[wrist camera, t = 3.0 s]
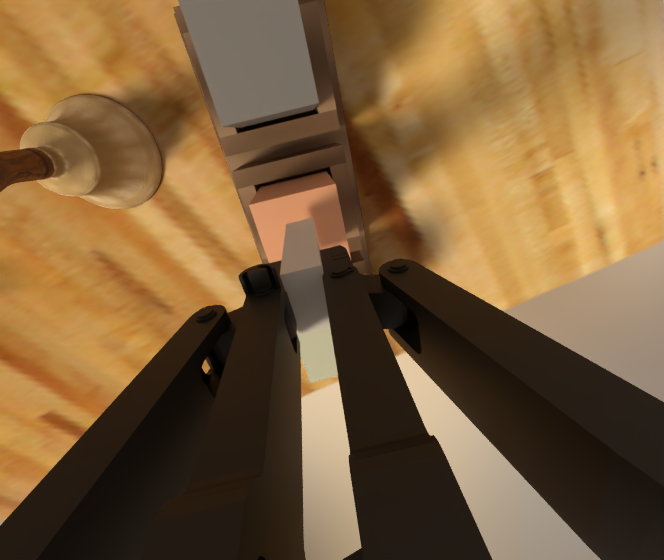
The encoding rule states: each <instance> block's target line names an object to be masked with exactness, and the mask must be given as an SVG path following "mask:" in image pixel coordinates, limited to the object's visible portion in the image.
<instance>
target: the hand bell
mask: <svg viewBox="0 0 664 560" xmlns="http://www.w3.org/2000/svg"><path fill="white" fill-rule="evenodd" d="M161 175H162V162H161V156H160V152H159V149H158V146H157V144H156V142H155V140H154V138H153V136H152V134H151V133H150V131H149V130H148V128H147V127H146V126H145V125H144V123H143V122H142V121H141V120H140V119H139V118H138V117H137V116H136V115H134V114H133V113H132V112H131V111H130V110H128V109H127V108H125V107H124V106H122V105H120V104H119V103H117V102H115V101H112V100H110V99H107V98H104V97H101V96H96V95H76V96H72V97H68V98H66V99H64V100H62V101H60V102H59V103H58V104H56V105H55V106H54V107H53V108H52V109H51V111H50V112H49V114H48V115H47V117H46V119H45V121H44V122H42V123H38V124H35V125H33V126H31V127H30V128H28V129H27V130H26V131H25V132H24V134H23V136H22V138H21V141H20V149H19V150H12V151H4V152H0V192H1V191H2V190H3V189H5V188H6V187H7V186H9V185H11V184H14V183H19V182H26V181H34V180H36V181H37V182H38V183H40V184H41V185H42V186H44V187H45V188H47V189H49V190H50V191H53V192H55V193H58V194H61V195H65V196H80V197H81V198H83V199H85V200H87V201H89V202H91V203H93V204H95V205H98V206H101V207H105V208H110V209H128V208H132V207H136V206H139V205H141V204H143V203H144V202H146V201H147V200H148V199H149V198H150V197H151V196H152V195H153V194H154V193H155V191H156V190H157V188H158V186H159V183H160V180H161Z"/></svg>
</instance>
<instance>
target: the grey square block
mask: <svg viewBox="0 0 664 560" xmlns="http://www.w3.org/2000/svg"><path fill="white" fill-rule="evenodd" d="M178 1H179V4H180V7H181V10H182V13H183V16H184V19H185V22H186V25H187V27H188V30H189V33H190V36H191V39H192V42H193V45H194V48H195V51H196V54H197V56H198V59H199V62H200V65H201V68H202V71H203V74H204V77H205V80H206V82H207V85H208V88H209V91H210V94H211V97H212V100H213V103H214V106H215V109H216V111H217V114H218V117H219V120H220V123H221V126H222V127H237V128H242V127H246V126H250V125H254V124H258V123H262V122H266V121H270V120H275V119H279V118H283V117H287V116H291V115H295V114H299V113H303V112H307V111H311V110H313V109H314V108H315V107H316V106H317V105H318V103H319V101H318V96H317V91H316V86H315V81H314V76H313V71H312V67H311V62H310V57H309V52H308V47H307V42H306V37H305V32H304V28H303V23H302V18H301V13H300V8H299V3H298V0H178Z"/></svg>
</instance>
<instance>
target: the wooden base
mask: <svg viewBox="0 0 664 560" xmlns="http://www.w3.org/2000/svg"><path fill="white" fill-rule="evenodd" d="M298 3H299V8H300V13H301V18H302V23H303V28H304V32H305V37H306V42H307V47H308V52H309V57H310V62H311V67H312V71H313V76H314V81H315V86H316V91H317V96H318V101H319V103H318V105H317V106H316V107H315V108H314V109H313V110H311V111H307V112H303V113H299V114H295V115H291V116H287V117H283V118H279V119H275V120H270V121H266V122H262V123H258V124H254V125H250V126H246V127H242V128H237V127H222V126H221V123H220V120H219V117H218V114H217V111H216V109H215V106H214V103H213V100H212V97H211V94H210V91H209V88H208V85H207V82H206V80H205V77H204V74H203V71H202V68H201V65H200V62H199V59H198V56H197V54H196V51H195V48H194V45H193V42H192V39H191V36H190V33H189V30H188V27H187V25H186V22H185V19H184V16H183V13H182V10H181V7H180V6H177V7H173V8H174V11H175V13H174V16H175V19H176V22H177V24H178V27H179V30H180V33H181V36H182V38H183V41H184V44H185V47H186V50H187V52H188V55H189V58H190V61H191V64H192V66H193V69H194V72H195V75H196V78H197V81H198V83H199V86H200V89H201V92H202V95H203V97H204V100H205V103H206V106H207V109H208V111H209V114H210V117H211V120H212V123H213V125H214V128H215V131H216V134H217V137H218V140H219V142H220V145H221V148H222V151H223V154H224V156H225V159H226V162H227V165H228V168H229V170H230V173H231V176H232V179H233V182H234V184H235V187H236V190H237V193H238V196H239V199H240V201H241V204H242V207H243V210H244V213H245V215H246V218H247V221H248V224H249V227H250V229H251V232H252V235H253V238H254V241H255V243H256V246H257V249H258V252H259V255H260V258H261V260H262V263H263V264H268V263H269V262H268V259H267V256H266V253H265V250H264V248H263V245H262V242H261V239H260V236H259V233H258V230H257V227H256V224H255V221H254V219H253V216H252V213H251V210H250V207H249V204H250V202H251V201H252V199H253V198H254V196H255V195H256V193H257V191H258V190H259V188H260V187H263V186H267V185H271V184H275V183H279V182H283V181H287V180H291V179H295V178H299V177H303V176H307V175H312V174H316V173H320V172H324V171H327V173H328V174H329V175H330V177H331V178H332V180H333V181H334V182H335V184H336V188H337V193H338V198H339V203H340V208H341V212H342V217H343V222H344V227H345V232H346V237H347V242H348V247H349V251H350V256H351V261H352V264H353V266H355V267H356V268H357V269H358V271H359V273H360V274H363V275H372V272H371V267H370V261H369V255H368V249H367V244H366V238H365V232H364V227H363V221H362V215H361V209H360V204H359V198H358V192H357V187H356V181H355V175H354V170H353V164H352V158H351V152H350V147H349V141H348V135H347V130H346V124H345V118H344V112H343V107H342V101H341V95H340V90H339V84H338V78H337V73H336V67H335V61H334V55H333V50H332V44H331V38H330V33H329V27H328V21H327V15H326V10H325V4H324V0H298Z"/></svg>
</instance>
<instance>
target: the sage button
mask: <svg viewBox="0 0 664 560" xmlns="http://www.w3.org/2000/svg"><path fill="white" fill-rule="evenodd" d="M297 335H298V338H299V341H300V355H301V358H302V361H303V363H304V366H305V369H306V372H307V375H308V378H309V381H310V383H312V382H316V381H320V380H324V379H328V378H332V377H337V376H338V372H337V366H336V360H335V354H334V347H333V341H332V335H331V329H326V330H322V331H318V332H313V333H309V334H305V335H301V336H300V334H299V331H298V328H297Z"/></svg>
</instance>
